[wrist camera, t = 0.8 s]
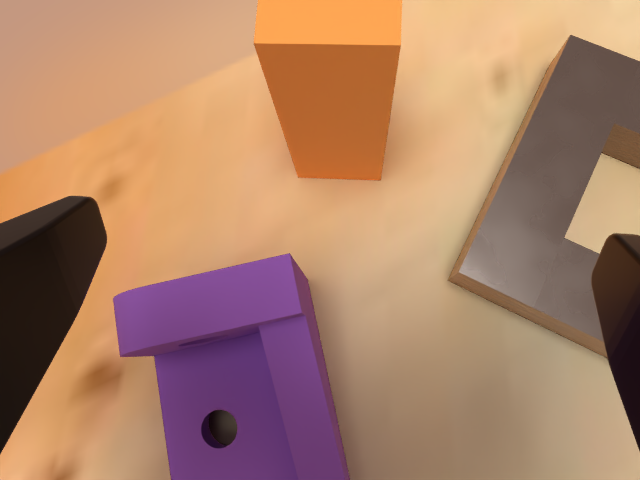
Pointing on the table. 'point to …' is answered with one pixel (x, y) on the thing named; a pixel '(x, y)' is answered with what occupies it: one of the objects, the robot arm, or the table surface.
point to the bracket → (238, 372)
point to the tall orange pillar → (331, 80)
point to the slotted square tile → (554, 193)
